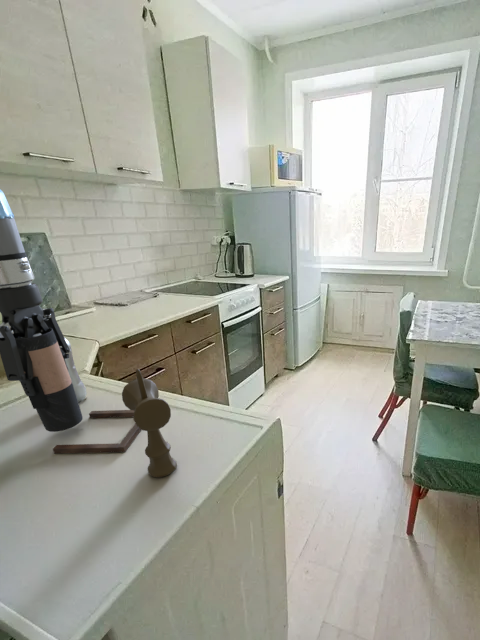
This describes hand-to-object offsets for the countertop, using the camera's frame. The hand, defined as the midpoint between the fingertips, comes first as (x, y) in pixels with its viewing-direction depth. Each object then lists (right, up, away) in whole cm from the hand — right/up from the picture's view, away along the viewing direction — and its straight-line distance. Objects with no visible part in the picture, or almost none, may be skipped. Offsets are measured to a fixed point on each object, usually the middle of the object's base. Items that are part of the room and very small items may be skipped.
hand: (54, 397), depth 73 cm
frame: (+9, -8, +3) cm, 12 cm away
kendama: (+26, -13, -9) cm, 30 cm away
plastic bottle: (-7, -2, +18) cm, 19 cm away
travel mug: (0, -6, +3) cm, 6 cm away
